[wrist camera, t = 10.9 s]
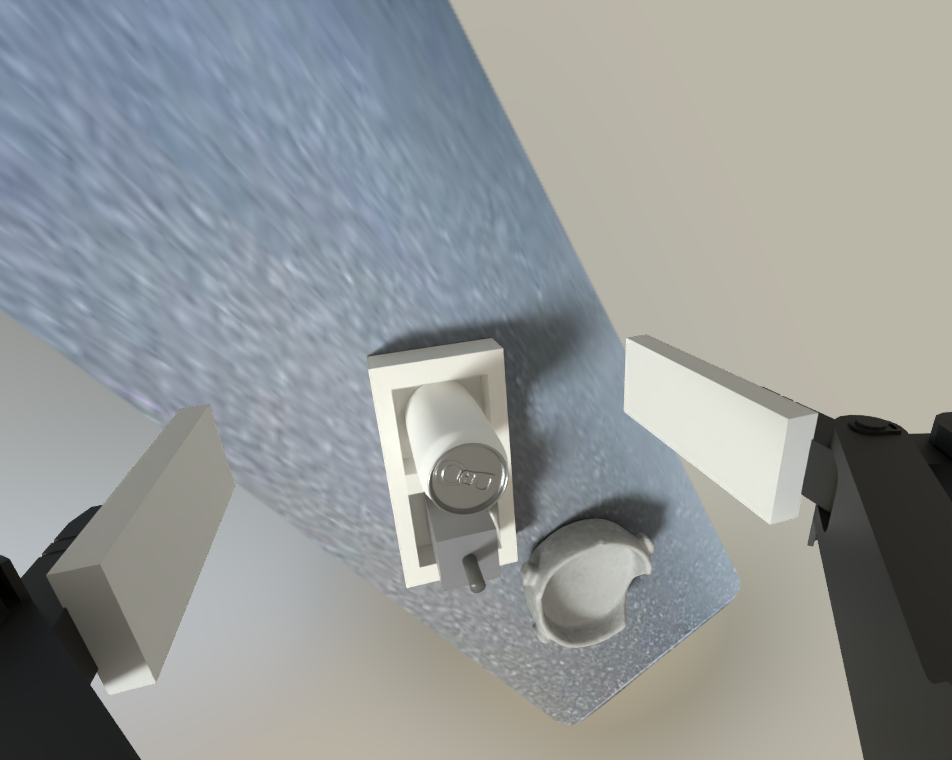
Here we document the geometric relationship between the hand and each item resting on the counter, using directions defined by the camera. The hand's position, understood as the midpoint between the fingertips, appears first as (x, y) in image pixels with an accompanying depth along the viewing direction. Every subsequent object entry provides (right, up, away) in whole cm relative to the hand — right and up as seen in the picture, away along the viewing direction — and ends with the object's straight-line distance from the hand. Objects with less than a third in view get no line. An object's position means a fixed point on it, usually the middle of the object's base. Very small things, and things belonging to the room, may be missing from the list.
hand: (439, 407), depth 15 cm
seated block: (-1, -11, +32) cm, 34 cm away
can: (-2, -2, +28) cm, 29 cm away
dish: (+12, -20, +39) cm, 46 cm away
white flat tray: (-2, -7, +30) cm, 31 cm away
